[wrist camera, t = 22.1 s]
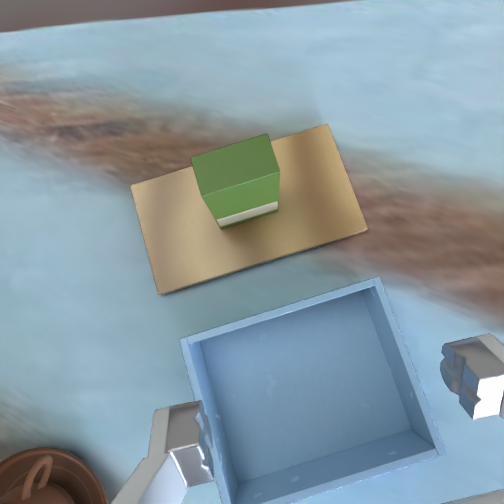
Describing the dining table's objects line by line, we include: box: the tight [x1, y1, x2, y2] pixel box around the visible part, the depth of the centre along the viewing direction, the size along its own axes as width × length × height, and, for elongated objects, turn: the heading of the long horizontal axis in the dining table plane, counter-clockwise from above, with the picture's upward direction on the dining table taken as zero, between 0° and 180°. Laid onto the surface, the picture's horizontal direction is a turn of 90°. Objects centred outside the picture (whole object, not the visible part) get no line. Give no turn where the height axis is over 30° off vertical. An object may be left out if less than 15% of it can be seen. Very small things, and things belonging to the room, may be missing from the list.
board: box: [130, 124, 368, 295], centre depth 34 cm, size 20×11×1 cm, turn 107°
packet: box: [190, 134, 280, 229], centre depth 29 cm, size 6×3×10 cm, turn 107°
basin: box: [179, 276, 446, 504], centre depth 29 cm, size 16×13×5 cm
